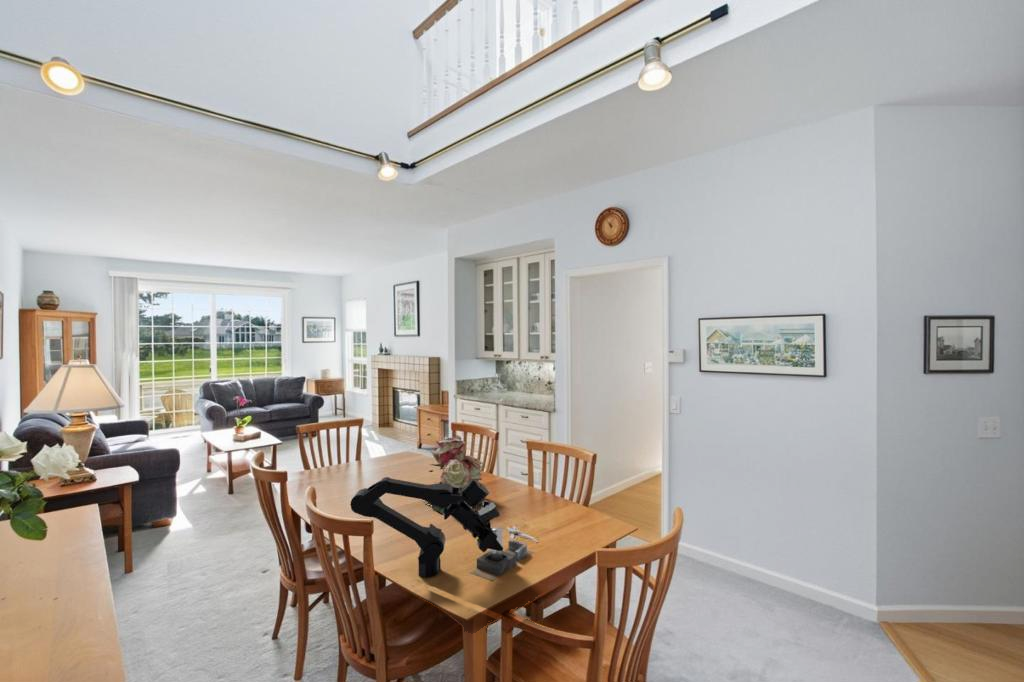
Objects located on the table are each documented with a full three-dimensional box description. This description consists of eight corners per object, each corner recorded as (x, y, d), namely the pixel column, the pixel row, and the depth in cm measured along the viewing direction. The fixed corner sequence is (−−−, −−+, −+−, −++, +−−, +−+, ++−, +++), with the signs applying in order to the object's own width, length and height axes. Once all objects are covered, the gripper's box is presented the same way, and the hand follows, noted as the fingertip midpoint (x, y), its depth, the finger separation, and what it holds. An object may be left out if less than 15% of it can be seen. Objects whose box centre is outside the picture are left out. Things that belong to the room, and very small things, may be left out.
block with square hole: (492, 586, 141) (492, 571, 141) (469, 577, 146) (469, 563, 146) (533, 556, 160) (533, 543, 160) (512, 549, 165) (512, 537, 165)
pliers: (513, 543, 167) (498, 528, 181) (513, 548, 167) (498, 532, 181) (538, 539, 171) (521, 524, 185) (538, 543, 171) (521, 528, 185)
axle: (497, 570, 148) (497, 532, 147) (487, 567, 150) (487, 529, 150) (505, 565, 151) (505, 528, 151) (495, 562, 153) (495, 525, 153)
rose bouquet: (446, 518, 194) (446, 446, 194) (416, 499, 218) (415, 435, 218) (497, 505, 210) (497, 438, 209) (464, 488, 233) (463, 428, 233)
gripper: (490, 506, 140) (525, 539, 143) (478, 487, 158) (510, 516, 161) (464, 536, 138) (500, 568, 141) (455, 513, 156) (488, 542, 159)
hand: (500, 546), depth 151 cm, fingers closed on axle, 4 cm apart
